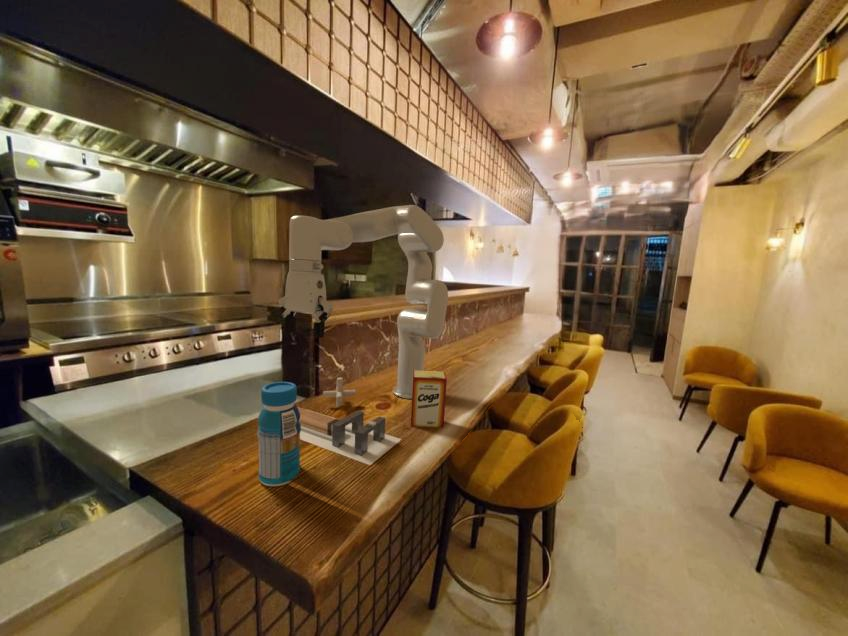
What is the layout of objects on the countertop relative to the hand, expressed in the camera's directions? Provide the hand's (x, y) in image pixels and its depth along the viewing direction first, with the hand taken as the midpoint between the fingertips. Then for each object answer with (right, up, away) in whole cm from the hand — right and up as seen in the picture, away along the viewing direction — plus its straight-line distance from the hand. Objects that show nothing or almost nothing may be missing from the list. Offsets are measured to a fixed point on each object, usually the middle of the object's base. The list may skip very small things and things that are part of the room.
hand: (304, 334), depth 86 cm
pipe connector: (+3, -25, +22) cm, 33 cm away
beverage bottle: (0, -30, -14) cm, 33 cm away
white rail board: (+6, -27, +4) cm, 29 cm away
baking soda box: (+32, -28, +14) cm, 44 cm away
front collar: (+17, -28, -2) cm, 33 cm away
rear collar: (+11, -27, +2) cm, 29 cm away
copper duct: (0, -26, +7) cm, 27 cm away
